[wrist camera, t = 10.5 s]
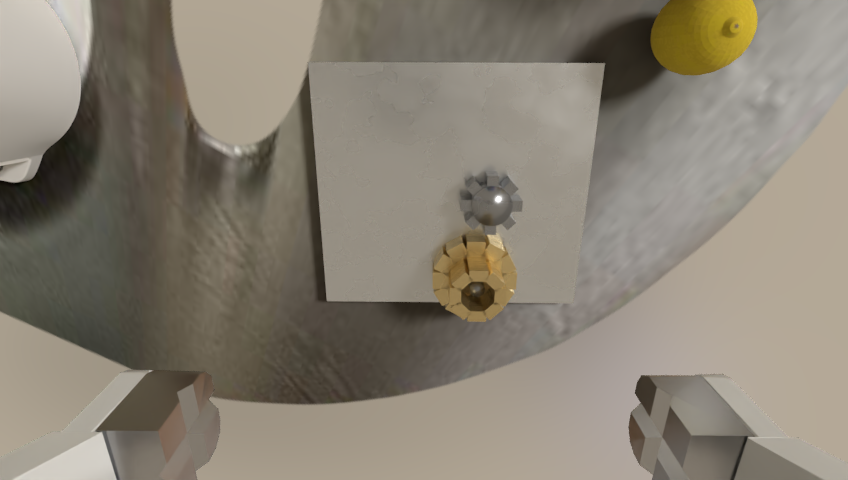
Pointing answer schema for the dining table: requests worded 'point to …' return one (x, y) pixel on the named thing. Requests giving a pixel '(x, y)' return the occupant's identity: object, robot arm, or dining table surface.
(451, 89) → the plate
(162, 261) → the dining table surface
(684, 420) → the robot arm
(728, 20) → the lemon
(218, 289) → the dining table surface
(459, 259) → the gear
